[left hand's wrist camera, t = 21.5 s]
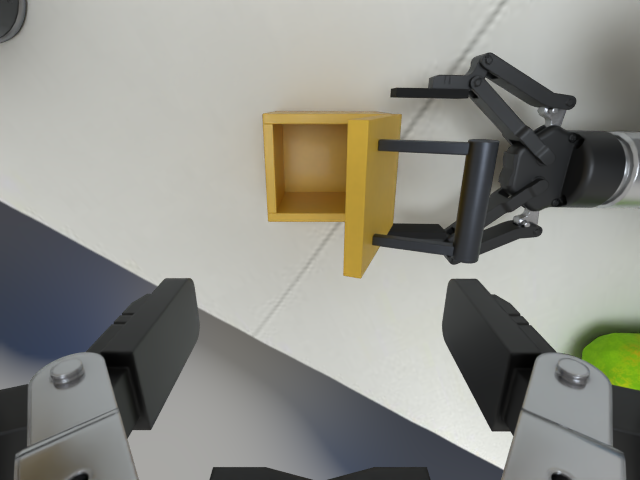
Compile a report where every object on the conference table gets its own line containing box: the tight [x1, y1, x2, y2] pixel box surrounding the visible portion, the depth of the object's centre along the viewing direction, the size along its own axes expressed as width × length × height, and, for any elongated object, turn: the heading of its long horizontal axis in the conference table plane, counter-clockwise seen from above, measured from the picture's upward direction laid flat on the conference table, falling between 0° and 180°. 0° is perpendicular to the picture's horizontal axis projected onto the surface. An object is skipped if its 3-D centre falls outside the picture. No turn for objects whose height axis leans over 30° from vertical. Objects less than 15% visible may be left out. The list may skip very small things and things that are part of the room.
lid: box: [343, 114, 499, 278], centre depth 26 cm, size 12×10×8 cm
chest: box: [263, 111, 389, 222], centre depth 37 cm, size 12×10×10 cm
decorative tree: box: [582, 333, 640, 390], centre depth 48 cm, size 18×10×30 cm
